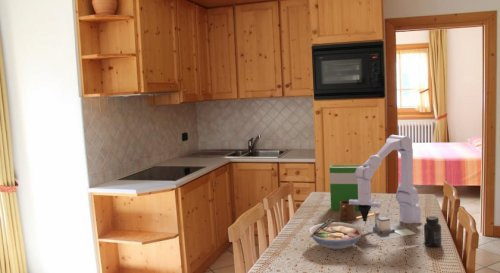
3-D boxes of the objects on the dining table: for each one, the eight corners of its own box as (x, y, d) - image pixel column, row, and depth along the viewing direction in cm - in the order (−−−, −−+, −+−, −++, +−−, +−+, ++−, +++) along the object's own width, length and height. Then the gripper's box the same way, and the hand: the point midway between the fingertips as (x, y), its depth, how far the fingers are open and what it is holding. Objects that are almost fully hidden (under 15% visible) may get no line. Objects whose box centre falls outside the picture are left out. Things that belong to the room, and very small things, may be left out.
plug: (385, 228, 212) (384, 216, 211) (389, 231, 208) (389, 218, 207) (377, 230, 211) (377, 217, 210) (382, 232, 207) (381, 220, 206)
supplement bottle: (441, 242, 193) (440, 215, 192) (442, 248, 187) (442, 220, 185) (423, 241, 195) (423, 214, 194) (424, 247, 189) (424, 219, 187)
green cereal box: (364, 207, 252) (363, 165, 249) (363, 211, 245) (362, 167, 242) (332, 206, 257) (330, 165, 254) (331, 210, 250) (329, 167, 247)
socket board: (394, 224, 220) (394, 211, 219) (417, 235, 203) (417, 221, 202) (361, 229, 216) (361, 215, 215) (381, 241, 198) (381, 227, 197)
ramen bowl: (351, 261, 178) (351, 241, 177) (299, 252, 190) (298, 234, 190) (370, 241, 199) (370, 223, 198) (322, 234, 211) (322, 217, 211)
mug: (349, 225, 222) (349, 207, 221) (335, 224, 226) (334, 205, 224) (357, 218, 232) (356, 201, 231) (342, 217, 236) (342, 199, 235)
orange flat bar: (380, 214, 214) (380, 212, 214) (359, 219, 208) (358, 217, 208) (376, 213, 216) (376, 211, 216) (355, 218, 210) (355, 216, 210)
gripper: (346, 192, 208) (346, 221, 209) (377, 195, 200) (377, 225, 201) (351, 189, 214) (352, 217, 215) (382, 192, 206) (382, 220, 207)
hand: (364, 220), depth 209 cm, fingers closed
